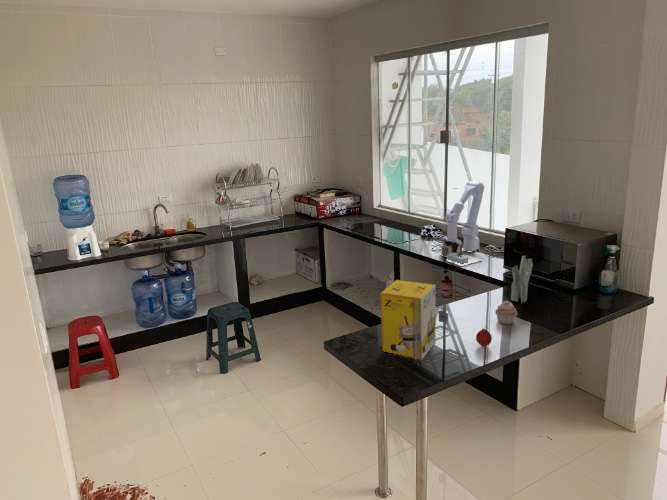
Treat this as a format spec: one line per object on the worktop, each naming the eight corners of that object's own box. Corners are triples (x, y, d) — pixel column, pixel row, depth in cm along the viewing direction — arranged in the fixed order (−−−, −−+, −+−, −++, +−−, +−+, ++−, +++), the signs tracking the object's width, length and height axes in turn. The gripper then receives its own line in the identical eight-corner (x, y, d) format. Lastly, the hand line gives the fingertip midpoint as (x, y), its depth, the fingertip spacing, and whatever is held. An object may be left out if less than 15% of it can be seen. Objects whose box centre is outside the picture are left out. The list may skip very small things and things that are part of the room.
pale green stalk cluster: (520, 311, 226) (522, 269, 220) (504, 308, 229) (506, 267, 224) (533, 291, 248) (535, 252, 242) (518, 289, 251) (520, 251, 246)
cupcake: (507, 328, 210) (508, 306, 207) (490, 321, 218) (490, 299, 215) (522, 322, 214) (523, 301, 211) (504, 315, 222) (505, 294, 219)
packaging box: (422, 360, 188) (421, 299, 181) (382, 352, 196) (380, 293, 189) (435, 342, 201) (435, 284, 195) (398, 335, 209) (396, 279, 202)
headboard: (465, 256, 309) (465, 249, 308) (481, 261, 297) (482, 254, 296) (445, 261, 302) (445, 254, 301) (461, 266, 290) (461, 259, 289)
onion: (479, 341, 200) (480, 323, 197) (493, 345, 196) (494, 326, 194) (473, 347, 195) (473, 328, 193) (487, 351, 192) (488, 332, 190)
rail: (457, 252, 316) (457, 243, 315) (462, 253, 313) (462, 244, 311) (441, 256, 311) (441, 247, 309) (446, 257, 307) (446, 248, 306)
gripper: (439, 230, 312) (439, 251, 316) (455, 235, 300) (455, 256, 304) (448, 228, 315) (447, 249, 319) (464, 233, 303) (463, 254, 307)
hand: (452, 253), depth 312 cm, fingers closed on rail, 4 cm apart
